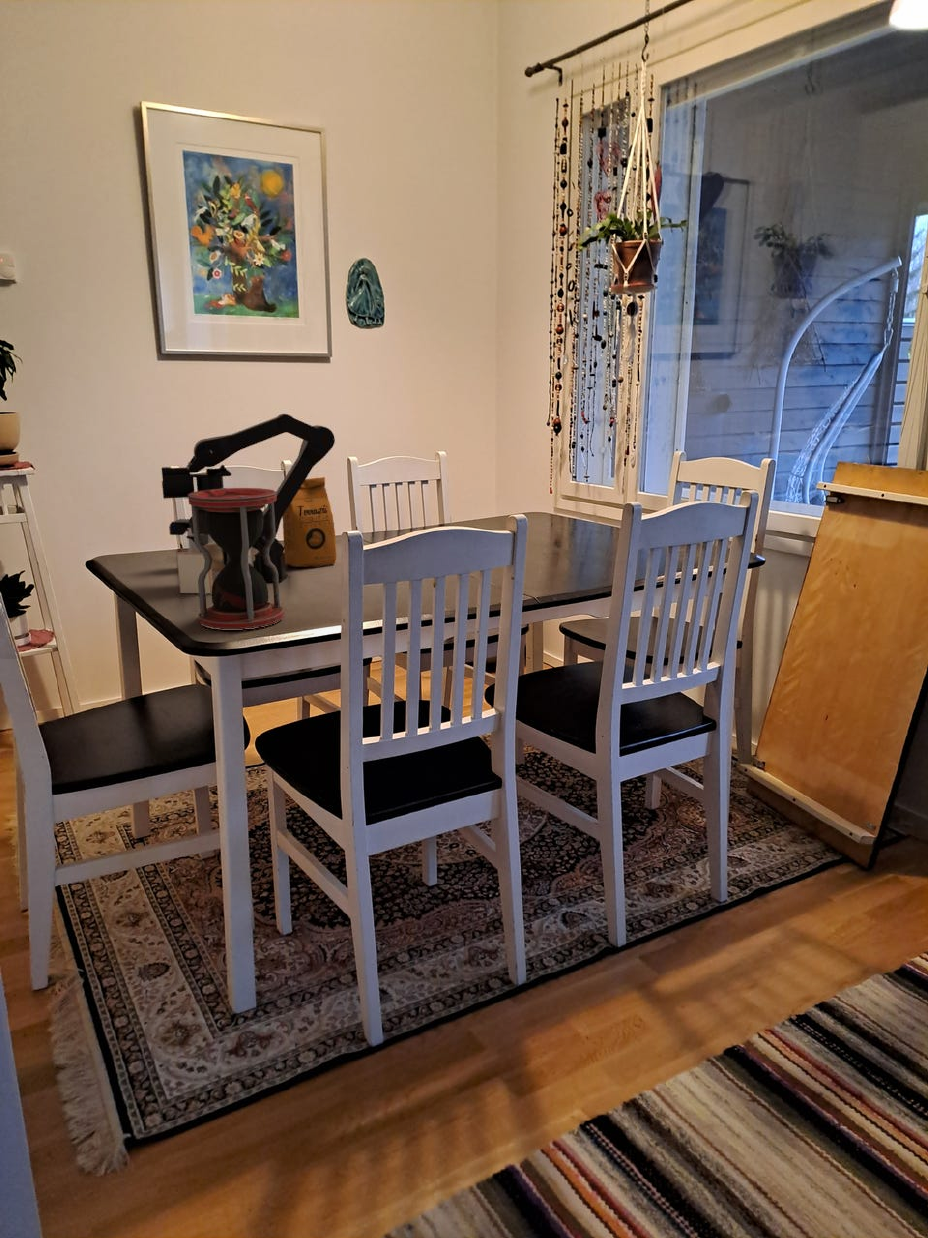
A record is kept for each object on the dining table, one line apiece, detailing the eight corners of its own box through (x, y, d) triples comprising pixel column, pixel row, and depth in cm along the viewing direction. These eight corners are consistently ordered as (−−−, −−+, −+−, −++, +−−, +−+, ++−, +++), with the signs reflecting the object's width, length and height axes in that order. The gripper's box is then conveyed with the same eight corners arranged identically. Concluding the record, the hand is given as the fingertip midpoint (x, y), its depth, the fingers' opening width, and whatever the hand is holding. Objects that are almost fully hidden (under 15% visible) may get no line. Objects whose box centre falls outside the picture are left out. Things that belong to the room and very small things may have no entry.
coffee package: (340, 566, 215) (336, 478, 210) (292, 571, 210) (286, 481, 204) (328, 559, 224) (324, 474, 218) (281, 563, 219) (276, 477, 213)
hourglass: (270, 605, 178) (263, 485, 171) (294, 624, 164) (287, 494, 158) (191, 615, 171) (180, 490, 164) (209, 636, 157) (197, 500, 150)
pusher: (228, 568, 198) (226, 542, 197) (222, 571, 194) (220, 545, 193) (212, 567, 199) (209, 542, 197) (205, 571, 195) (203, 545, 193)
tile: (213, 592, 189) (210, 552, 187) (210, 594, 188) (207, 554, 185) (183, 591, 190) (179, 552, 187) (179, 593, 188) (176, 553, 186)
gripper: (155, 501, 185) (162, 571, 189) (239, 501, 183) (244, 573, 188) (176, 494, 196) (182, 561, 200) (256, 495, 194) (260, 562, 198)
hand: (216, 564), depth 196 cm, fingers closed on pusher, 4 cm apart
